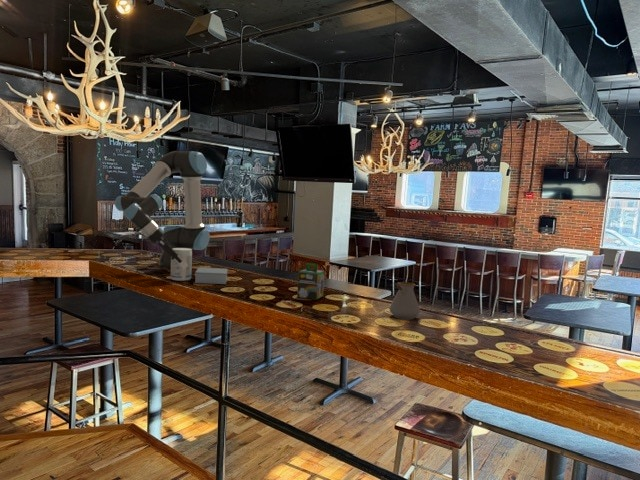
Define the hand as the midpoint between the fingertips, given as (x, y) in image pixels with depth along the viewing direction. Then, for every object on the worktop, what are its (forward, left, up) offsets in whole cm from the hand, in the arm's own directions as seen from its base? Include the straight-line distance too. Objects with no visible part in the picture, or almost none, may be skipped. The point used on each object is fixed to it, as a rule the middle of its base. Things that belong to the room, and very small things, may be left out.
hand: (185, 265), depth 210 cm
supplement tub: (0, -2, -7) cm, 7 cm away
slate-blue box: (+1, +13, -7) cm, 15 cm away
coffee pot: (+66, +84, -7) cm, 107 cm away
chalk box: (+31, +56, -7) cm, 65 cm away
